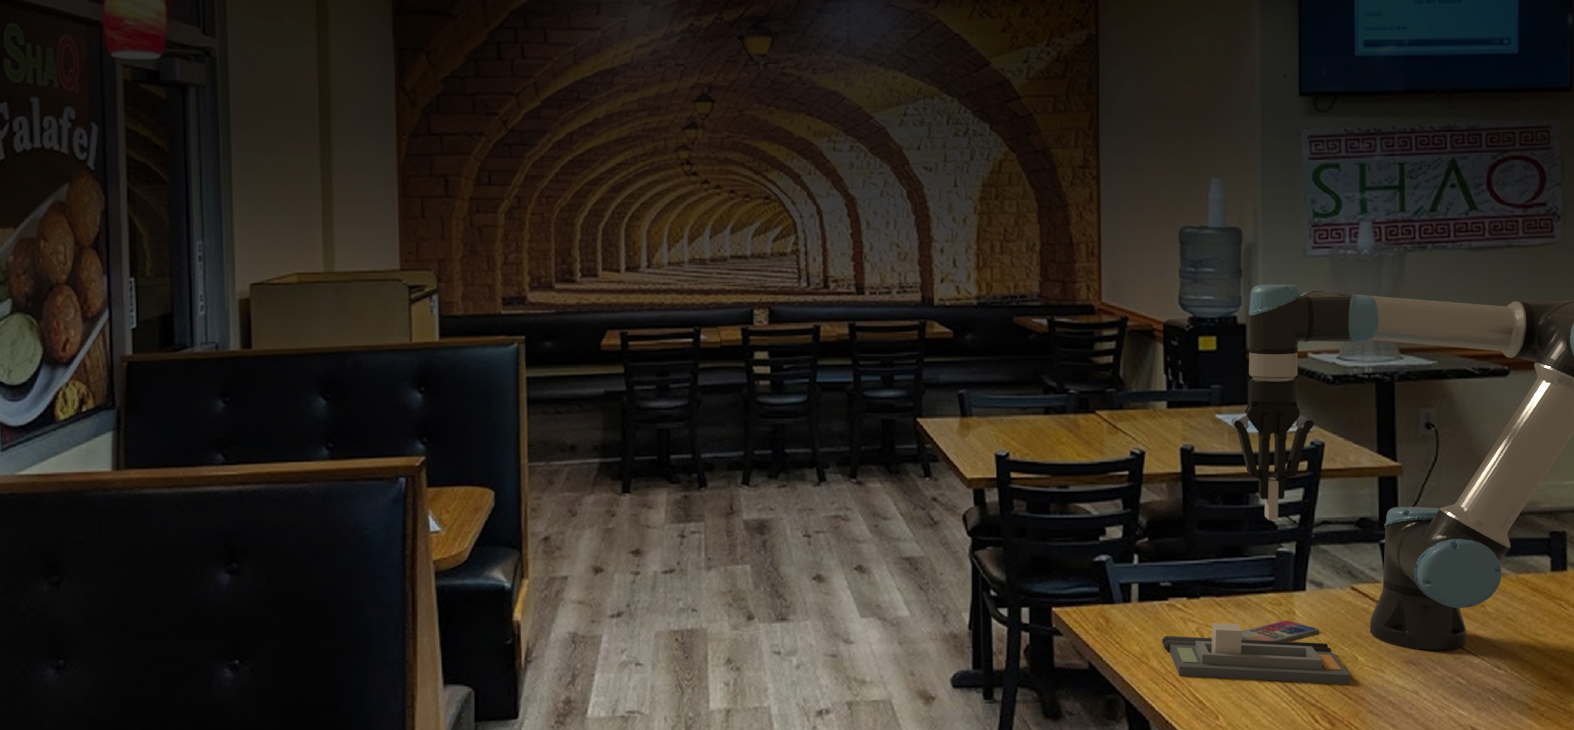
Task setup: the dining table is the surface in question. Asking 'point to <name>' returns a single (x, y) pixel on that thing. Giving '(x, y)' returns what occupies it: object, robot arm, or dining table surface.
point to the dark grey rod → (1246, 641)
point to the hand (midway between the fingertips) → (1271, 517)
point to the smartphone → (1279, 632)
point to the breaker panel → (1260, 663)
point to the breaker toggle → (1226, 638)
